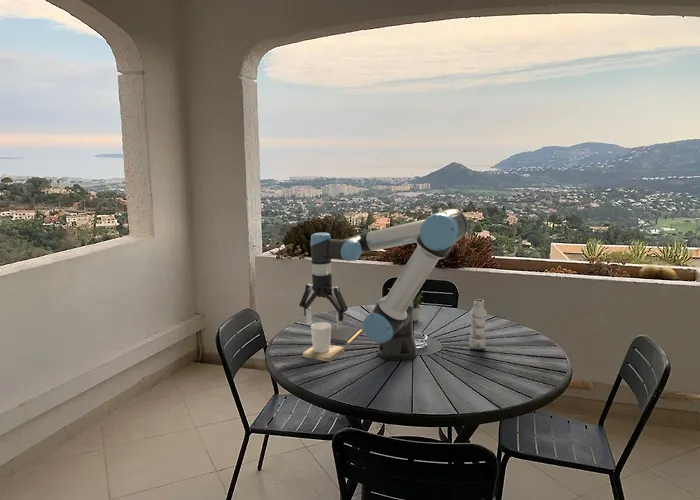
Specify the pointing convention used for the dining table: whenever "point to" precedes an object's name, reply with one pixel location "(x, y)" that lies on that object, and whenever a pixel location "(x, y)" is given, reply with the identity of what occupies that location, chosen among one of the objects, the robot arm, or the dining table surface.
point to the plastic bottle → (478, 325)
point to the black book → (344, 335)
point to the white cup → (321, 337)
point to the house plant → (416, 308)
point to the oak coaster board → (324, 356)
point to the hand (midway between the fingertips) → (324, 326)
